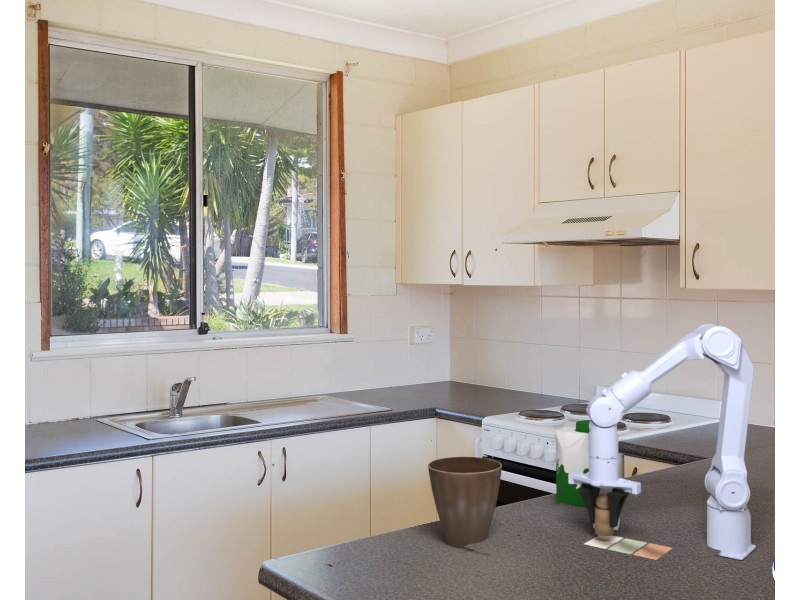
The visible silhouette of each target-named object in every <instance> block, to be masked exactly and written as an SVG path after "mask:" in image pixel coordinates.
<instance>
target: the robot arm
mask: <svg viewBox="0 0 800 600" xmlns="http://www.w3.org/2000/svg"><path fill="white" fill-rule="evenodd" d="M694 330H695V331H691V332H689V333H687V334H686V335H684V336H683V337H682V338H680V339H679V340H677V341H676V342H675V343H674V344H673V345H671V346H670V347H669V348H668V349H666V351H664V352H663V353H662V354H661V355H660V356H658V357H657V358H656V359H654V360H653V361H652V362H651V363H650V364H649V365H647V366H646V367H644V369H643V370H641V371H640V370H630V371H629V372H628V373H627V372H626V371H623V373H621V374H620V375H619V376H620V378H619V379H618V380H617V381H616V382H614V383H613V384H612V385H611V386H609V387H608V388H606V387H604V388H602V389H601V393H602V394H598V395H595V396H593V397H592V398H591V399H590V400H589V402H588V403H587V407H586V410H585V411H586V414H587V416H588V418H590V419H589V421H590V423H589V430H590V431H589V474H581V473H570V474H568V483H569V484H580V485H581V488H580V489H579V494H580V495H581V497H582V499H583V501H584V503H585V505H586V509H587V510H586V512H587V515H588V519H589V523H590V524H592V525H593V524H595V507H596V506H597V505H596V498H597V497H598V496H599V495H600V494H601V493H600V491H601V489H606V490H611V491H609V492H607V493H606V495H607V497H608V501H609V508H610V527H611V528H614V527H616V526H618V521H619V517H620V516H621V512H622V510H623V508H624V504H625V502H626V500H627V498H628V497H629V495H630V493H631V494H632V495H639V494H641V492H642V484H641V483H642V482H639V481H633V480H629V479H625V478H622V477H619V471H620V470H619V469H620V468H619V433H618V423H619V421H620V420H621V416H622V414H625V413H627V412H629V410H631V409H632V408H634V407H635V406H636V405H637V404H639V403H641V401H643V400H644V399H646V398H647V397H648V396H649V395H651V393H652V386H653V384H654V383H656V382H657V381H659V380H661V379H662V378H663V377H665V376H667V375H668V374H670V372H672V371H673V370H675V369H677V368H678V367H679V366H681V365H682V364H684V363H685V362H687V361H698V360H704V359H705V358H707V359H709V360H711V361H712V362H713V363H714V364H715V365H716V366H717V368H718V369H719V370H720V371H721V372H722V373H723V374H724V375H723V376H724V379H723V386H722V396H721V405H720V413H719V414H720V415H719V422H718V423H719V424H718V431H717V432H718V433H717V442H716V449H715V454H714V456H713V457H712V459H711V465H710V468H709V470H708V471H707V473H706V474H705V476H704V486H705V489H706V491H707V492H708V493H709V497H708V499H707V501H706V545H707V546H708V547H709V548H711V549H714V550H717V551H719V552H716V554H715V555H716V556H721V557H725V558H730V559H733V560H734V559H735V560H741V561H743V560H744V559H745V558H746V557H748V555H749V554H751V553H752V552H753V551H754V550H755V549H756V548H757V546H756V544H753V543H752V540H751V539H752V536H751V534H752V533H751V532H752V531H751V530H752V529H751V526H752V522H751V521H752V516H751V512H750V509H749V508H748V502H749V500H750V497H751V490H750V489H751V488H750V486H749V484H748V481H747V479H748V478H747V477H748V470H747V467H746V462H745V452H746V444H747V435H748V425H749V417H750V416H749V415H750V409H751V398H752V391H753V382H754V372H755V371H754V370H755V369H754V365H753V363H752V361H751V358H750V357H749V355H748V353H747V351H746V350H745V349H746V348H745V347H744V345H743V340H742V339H741V338H740V337H739V336H738V335H737V334H736V333H735V332H734V331H733V330H732V329H729V328H728V327H726V326H724V325H723V326H722V325H721V326H720V325H716V324H711V323H710V324H702V325H700V326H698V327H697V328H696V329H694Z"/></svg>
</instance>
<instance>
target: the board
mask: <svg viewBox="0 0 800 600" xmlns="http://www.w3.org/2000/svg"><path fill="white" fill-rule="evenodd" d="M583 545H585V546H586V545H587V546H591V547H596V548H598V549H599V548H600V549H604V550H609V551H614V552H619V553H623V554H628V555H633V556H637V557H643V558H645V559H650V560H658V559H660V558H661V557H662V556H664V555H666V554H667V553H669V551H672V549H673V547H670V546H665V545H661V544H656V543H651V542H649V543H648V542H647V541H646V542H645V541H640V540H636V539H631V538H624V537H622V536H616V535H612V536H600V535H597V536H595V537H593V538H592V539H590V540H588V541H587V542H584V543H583Z"/></svg>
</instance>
